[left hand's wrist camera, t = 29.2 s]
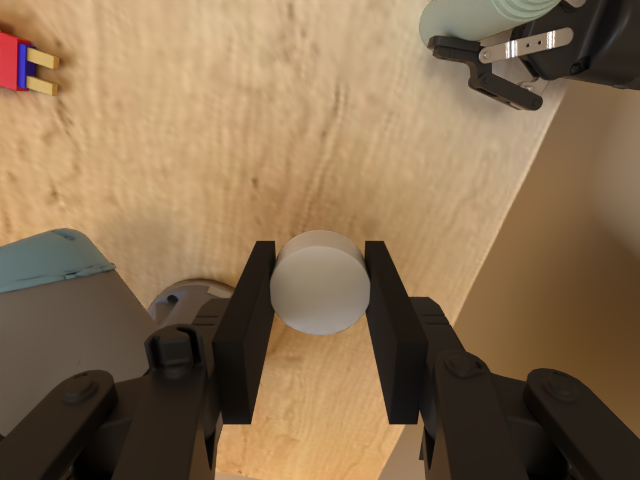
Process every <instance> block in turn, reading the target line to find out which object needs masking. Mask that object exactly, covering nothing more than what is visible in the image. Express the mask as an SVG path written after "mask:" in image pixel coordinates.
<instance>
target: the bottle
mask: <svg viewBox="0 0 640 480" xmlns="http://www.w3.org/2000/svg"><path fill="white" fill-rule="evenodd" d="M560 1H561V0H432V1H431V2H430V3H429V4H428V5H427V6H426V8H425V9H424V11H423V13H422V16H421V19H420V26H419V30H420V36H421V39H422V41H423V43H424V44H425V45H426V47H428V42H429V38H431V37H433V36H435V35H440V36H446V37H452V38H458V39H464V40H469V41H479V40H482V39H484V38H487V37H490V36H492V35H495V34H498V33H500V32H503V31H506V30H508V29H511V28H514V27H516V26H519V25H522V24H524V23H527V22H530V21H532V20H535V19H537V18H539V17H541V16H543V15H545V14H546V13H548V12H549V11H550V10H551V9H552V8H553V7H555V6H556V5H557V4H558V3H559V2H560ZM430 50H432V51H434V49H430Z"/></svg>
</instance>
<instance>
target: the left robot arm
mask: <svg viewBox="0 0 640 480" xmlns="http://www.w3.org/2000/svg"><path fill="white" fill-rule="evenodd" d="M364 261H365V264H366V268H367V272H368V276H369V279H370V299H369V305H368V307H367V309H366V311H365V312H366V317H367V321H368V326H369V331H370V336H371V340H372V345H373V350H374V354H375V359H376V364H377V368H378V373H379V378H380V383H381V387H382V392H383V397H384V401H385V406H386V411H387V415H388V420H389V424H417V423H418V416H419V410H420V413H421V416H422V419H423V422H424V430H423V437H422V443H421V450H420V456H419V460H424V467H425V478H426V480H640V439H639V438H638V437H637V436H636V435H635V434H634V433H633V432H632V431H631V430H630V429H629V428H628V427H627V426H626V425H625V424H624V423H623V422H622V421H621V420H620V419H619V418H618V417H617V416H616V415H615V414H614V413H613V412H612V411H611V410H610V409H609V408H608V407H607V406H606V405H605V404H604V403H603V402H602V401H601V400H600V399H599V398H598V397H597V396H596V395H595V394H594V393H593V392H592V391H591V390H590V389H589V388H588V387H587V386H586V385H584V384H583V383H582V382H580V381H579V380H578V379H576V378H574V377H572V376H570V375H568V374H566V373H564V372H561V371H557V370H554V369H546V368H540V369H535V370H532V371H531V372H530V373H529V374H528V376H527V380H526V382H525V381H521V380H516V379H512V378H508V377H503V376H500V375H497V374H493V373H491V372H490V370H489V368H488V367H487V365H486V364H485V363H484V362H483V361H482V360H481V359H480V358H478V357H477V356H475V355H473V354H471V353H469V352H466V351H465V349H464V347H463V345H462V344H461V342H460V340H459V339H458V337H457V335H456V333H455V332H454V330H453V328H452V326H451V325H449V321H448V320H447V318H446V317H445V314H444V313H443V311H442V309H441V307H440V306H439V305H438V304H437V303H436V302H434V301H433V300H432V299H430V298H429V297H408V294H407V292H406V290H405V288H404V286H403V283H402V281H401V279H400V277H399V274H398V272H397V270H396V268H395V265H394V263H393V261H392V259H391V257H390V254H389V252H388V250H387V248H386V245H385V243H384V241H365V258H364ZM275 262H276V253H275V241H256V244H255V246H254V248H253V250H252V253H251V255H250V257H249V259H248V262H247V264H246V266H245V268H244V270H243V273H242V275H241V277H240V279H239V282H238V284H237V286H236V288H235V289H234V288H232V287H230V286H228V285H225V284H223V283H220V282H216V281H212V280H205V279H192V280H186V281H181V282H178V283H176V284H173V285H171V286H169V287H168V288H166V289H165V290H164V291H162V292H161V293H160V294H159V295H158V296H157V298H156V299H155V300H154V301H153V302H152V304H151V305H150V307H149V308H148V310H147V311H146V310H145V308H144V307H143V306H142V304H141V303H140V302H139V300H138V299H137V298H136V296H135V295H134V294H133V293H132V291H131V290H130V289H129V287H128V286H127V285H126V283H125V282H124V281H123V279H122V278H121V277H120V276H119V274H118V273H117V272H116V270H115V268H116V266H115V265H114V264H113V263H110V262H109V261H108V260H107V259H106V258H105V257H104V256H103V254H102V253H101V252H100V251H99V250H98V249H97V247H96V246H95V245H94V244H93V243H92V242H91V240H90V239H89V238H88V237H87V236H86V235H84V234H83V233H81V232H79V231H77V230H73V229H67V228H62V229H54V230H51V231H47V232H44V233H40V234H37V235H34V236H31V237H28V238H25V239H22V240H19V241H16V242H13V243H10V244H7V245H4V246H1V247H0V480H214V479H215V468H216V456H217V445H218V441H219V438H220V434H221V430H222V427H223V424H251V421H252V416H253V412H254V407H255V402H256V398H257V393H258V388H259V384H260V379H261V374H262V369H263V365H264V360H265V355H266V351H267V346H268V341H269V337H270V332H271V327H272V323H273V318H274V313H275V310H274V309H273V306H272V304H271V293H270V279H271V276H272V272H273V269H274V265H275Z"/></svg>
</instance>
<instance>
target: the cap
mask: <svg viewBox="0 0 640 480" xmlns="http://www.w3.org/2000/svg"><path fill="white" fill-rule="evenodd" d="M270 293H271V304H272V306H273V309H274V310H275V312H276V314H277V315H278V316H279V317H280V319H281V320H282V321H283V322H285V323H286V324H287V325H289V326H290V327H292V328H293V329H295V330H298V331H300V332H303V333H306V334H312V335H329V334H334V333H338V332H340V331H343V330H345V329H347V328H349V327H350V326H352V325H353V324H355V323H356V322H357V321H358V320H359V319H360V318H361V317H362V315H363V314H364V312H365V311H366V309H367V307H368V305H369V299H370V279H369V276H368V272H367V268H366V264H365V261H364V258H363V255H362V253H361V251H360V250H359V248H358V247H357V246H356V245H355V244H354V243H353V242H352V241H351V240H350V239H348V238H347V237H345V236H344V235H341V234H339V233H337V232H334V231H329V230H311V231H307V232H304V233H301V234H299V235H297V236H295V237H293V238H292V239H291V240H289V241H288V242H287V243H286V244H285V245H284V246H283V247H282V249H281V250H280V252H279V254H278V256H277V259H276V262H275V265H274V269H273V272H272V276H271V279H270Z"/></svg>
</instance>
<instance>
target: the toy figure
mask: <svg viewBox="0 0 640 480" xmlns="http://www.w3.org/2000/svg"><path fill="white" fill-rule="evenodd" d="M35 63H36V64H39V65H42V66H45V67H48V68H51V69H57V70H59V57H57V56H54V55H51V54H48V53H45V52H42V51H39V50H36V47H34V46H31V45H30V41H28V40H25V39H22V38H19V37H17V36H14V35H11V34H8V33H5V32H2V31H0V86H3V87H6V88H9V89H12V90H15V91H29V89H33V90H36V91H39V92H42V93H45V94H48V95H51V96H57V89H58V84H55V83H52V82H49V81H46V80H43V79H40V78H37V77H35Z"/></svg>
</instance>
